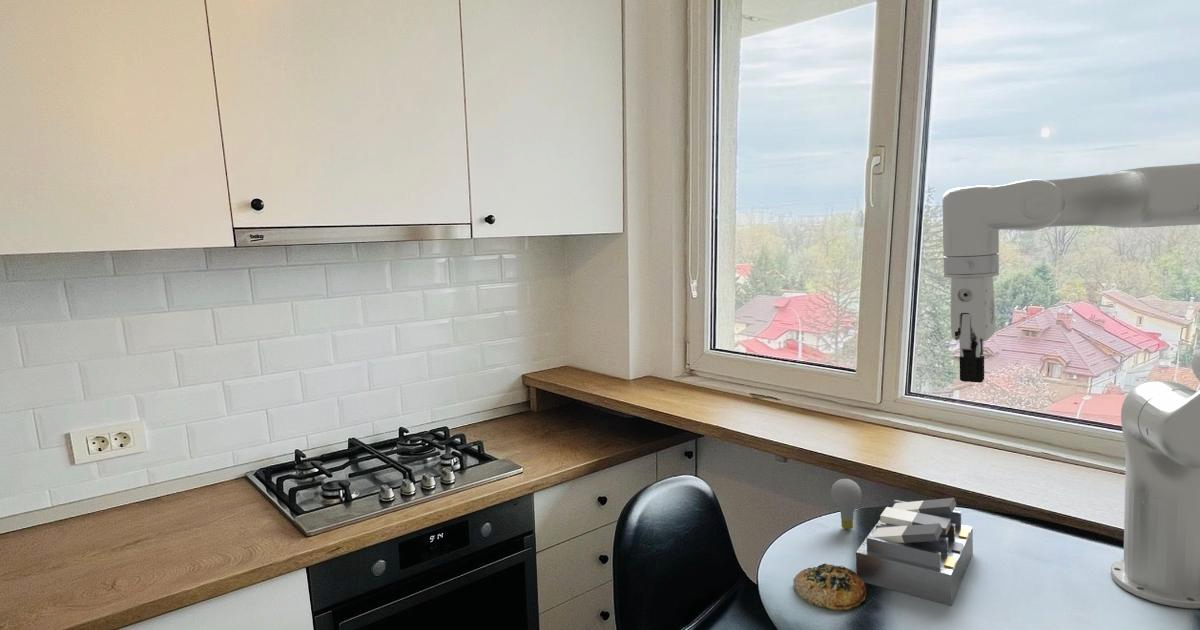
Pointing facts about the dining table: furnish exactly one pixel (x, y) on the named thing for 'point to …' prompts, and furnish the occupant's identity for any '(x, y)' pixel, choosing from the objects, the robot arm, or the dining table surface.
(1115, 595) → the dining table surface
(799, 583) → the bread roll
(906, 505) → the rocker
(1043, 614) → the dining table surface
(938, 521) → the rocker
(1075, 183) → the robot arm
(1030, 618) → the dining table surface
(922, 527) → the rocker
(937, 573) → the switch box
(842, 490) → the light bulb
